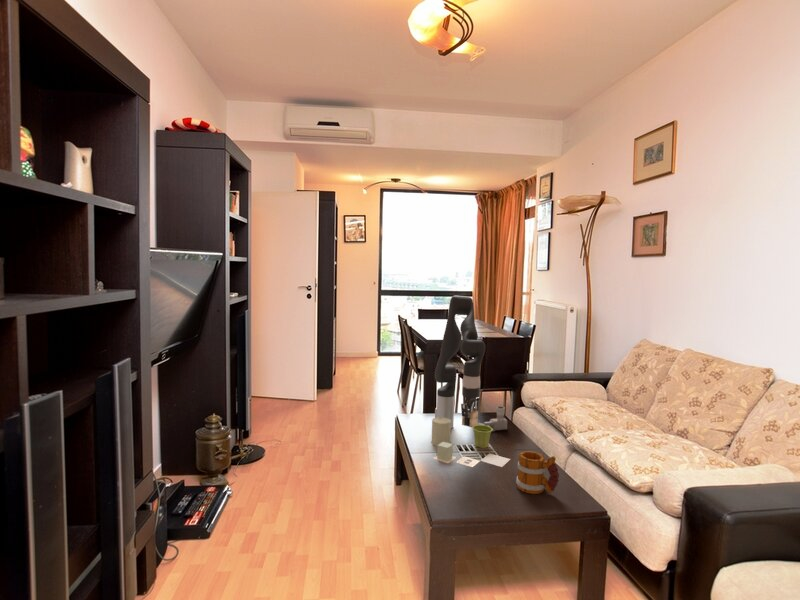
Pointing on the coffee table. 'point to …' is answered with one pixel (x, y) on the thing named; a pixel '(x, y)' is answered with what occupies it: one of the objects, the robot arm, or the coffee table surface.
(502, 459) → the felt pad
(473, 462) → the code tile
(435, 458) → the code tile
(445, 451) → the sage block
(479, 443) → the plant pot
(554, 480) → the mug
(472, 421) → the beech block
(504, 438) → the coffee table surface
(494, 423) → the camera
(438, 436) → the can
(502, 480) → the coffee table surface
